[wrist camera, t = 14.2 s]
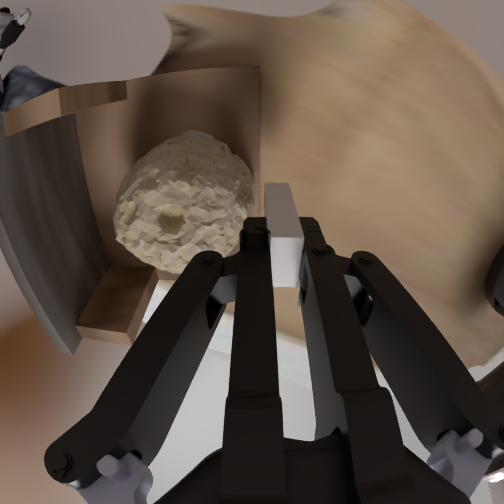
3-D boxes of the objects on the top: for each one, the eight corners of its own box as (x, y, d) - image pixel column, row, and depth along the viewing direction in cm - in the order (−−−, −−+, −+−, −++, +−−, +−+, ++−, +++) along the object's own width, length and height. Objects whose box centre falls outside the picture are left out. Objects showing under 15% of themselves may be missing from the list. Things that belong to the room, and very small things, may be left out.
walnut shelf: (259, 68, 17) (260, 44, 7) (258, 268, 27) (257, 377, 17) (73, 96, 17) (-32, 130, 7) (110, 265, 27) (60, 352, 17)
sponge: (184, 123, 21) (74, 153, 14) (284, 131, 16) (151, 166, 10) (192, 219, 26) (103, 269, 19) (277, 253, 22) (182, 332, 15)
